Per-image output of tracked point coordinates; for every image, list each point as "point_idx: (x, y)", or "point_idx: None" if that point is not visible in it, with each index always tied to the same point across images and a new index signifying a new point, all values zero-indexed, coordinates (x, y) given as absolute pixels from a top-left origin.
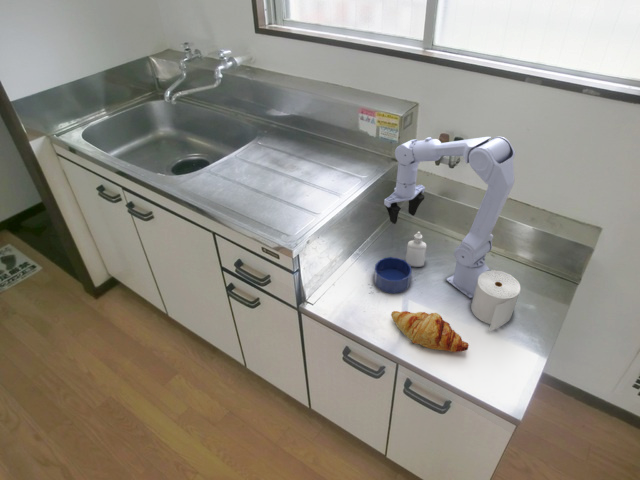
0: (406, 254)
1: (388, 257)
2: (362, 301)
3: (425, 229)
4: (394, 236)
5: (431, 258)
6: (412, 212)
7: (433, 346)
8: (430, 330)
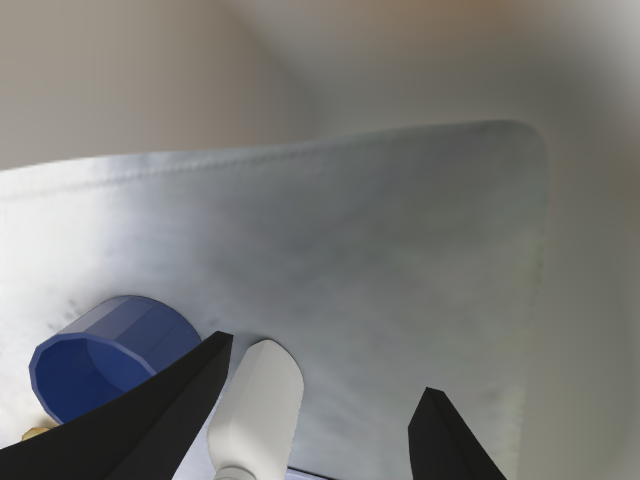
0: (234, 377)
1: (131, 353)
2: (12, 329)
3: (529, 297)
4: (377, 212)
5: (345, 396)
6: (417, 446)
7: None
8: None
